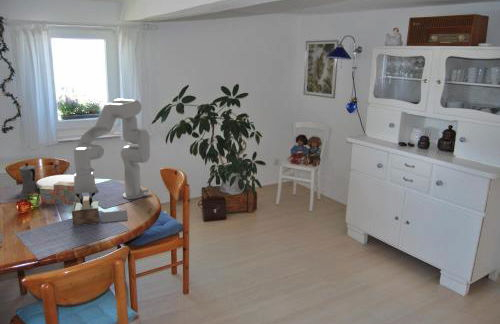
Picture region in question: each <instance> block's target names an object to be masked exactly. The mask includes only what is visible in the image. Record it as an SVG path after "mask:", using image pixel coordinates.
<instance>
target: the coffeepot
mask: <svg viewBox="0 0 500 324" xmlns="http://www.w3.org/2000/svg"><path fill="white" fill-rule="evenodd" d="M24 164H25V165H23V166H20V167H19V168H18V169H19V172H20V175H21V179H22V192H23V193H26V192H27V193H34V192H37V191H38V190H39V187H37V181H36V178H35V177H36V166H35V165H29V163H28V162H25V163H24Z"/></svg>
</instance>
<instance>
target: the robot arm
mask: <svg viewBox="0 0 500 324" xmlns="http://www.w3.org/2000/svg"><path fill="white" fill-rule="evenodd" d="M141 111H142V103H141V102H140V101H139V100H137V99H129V98H115V99H114V100H113V101H112V102H109V103H106V104H104V105H103V107H102V109H101V112H100V113H99V116H98V118H97V120H96V122H95V124H94V125H93V126H92V127H90V128H89V129H88V130H87V131H85V132H84V133H83V134H82V136H81V137H80V139H79V141H78V143H77V145H76V148H74V149H73V160H74V170H75V171H74V172H75V173H74V174H73V175H74V190H73V192H72V195H75V196H77V197H78V198H79V199H80V202H81V204H82V206H83V194H89V195H88V196H89V203H90V206H91V203H92V201H93V197H94V196H95V195H97V194H98V193H99V192H100V191H99V189H98V187H97V186H96V179H95V174H94V172H95V168H92V163H91V161H92V160H99V159H101V158H102V157H103V156H104V154H105V149H104V147H102V146H101V145H99V144H92V142H93V141H94V140H96V139H97V138H100V137H102V136H105V135H108V134H110V133H111V131H112V129H113V127H114V125H115V122H116V120H118V119H119V120H121V122H122V123H121V125H122V127H121V128H122V130H121V131H122V140H123V142H124V143H126V144H128V145H124V146H123V147H122V148H121V149H120V158H121V161H122V169H123V177H124V178H123V179H124V193H123V194H122V197H123V198H124V199H128V200H134V199H135V200H136V199H140V198H142V197H144V195H145V193H149V192H150V191H149V188H142V184H141V182H142V180H141V169H140V168H141V167H140V164H139V163H141V164H144V163H147V162H148V161H149V159H150V155H151V154H150V152H151V147H150V146H151V144H150V143H151V137H150V134H149V132H148V130H147V129H145V128H142V127H141V128H140V127H138V119H137V115H140V113H141ZM129 144H130V145H129ZM131 144H132V145H131Z"/></svg>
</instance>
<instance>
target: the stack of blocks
mask: <svg viewBox="0 0 500 324" xmlns="http://www.w3.org/2000/svg"><path fill="white" fill-rule="evenodd" d="M73 190H74V182H62V181H59V182H57V183H55V184H54V186H49V185H45V186H43V187H42V188H39V194H40V202H41V204H48V205H49V204H51V205H63V206H73V204H74V202H80V199H79V198H78V197H77V196H75V195H72V192H73Z"/></svg>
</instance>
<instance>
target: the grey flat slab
mask: <svg viewBox="0 0 500 324" xmlns="http://www.w3.org/2000/svg"><path fill="white" fill-rule="evenodd" d="M127 214H128V213H127V209H125V210H115V211H113V210H112V211H106V212H105V211H104V212H101V220H100V221H101V222H100V223H101V224H107V223H108V222H110V223H118V222H126V221H128V215H127Z"/></svg>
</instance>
